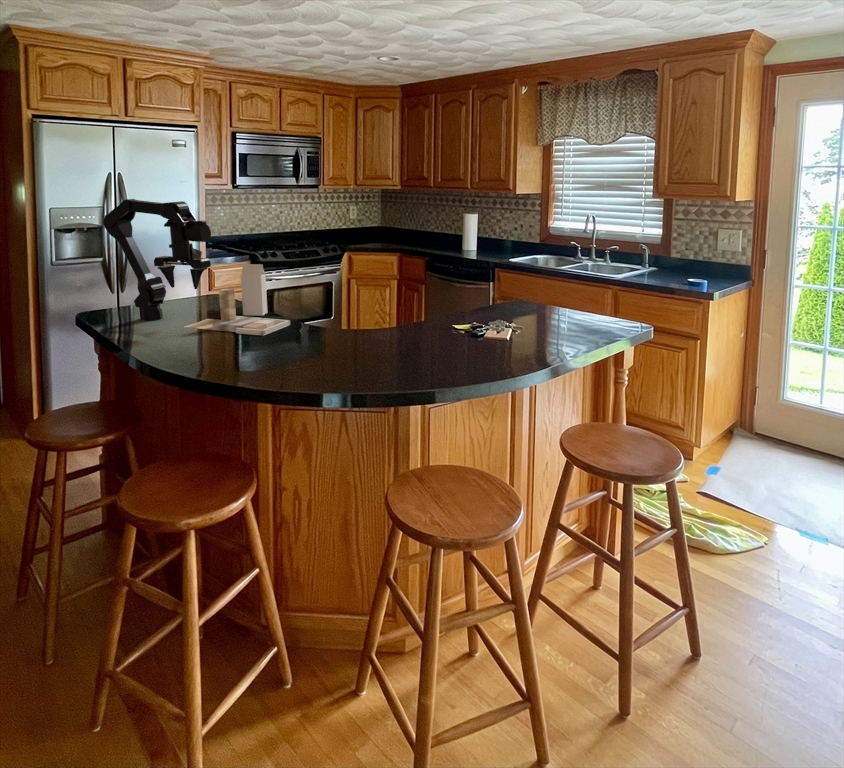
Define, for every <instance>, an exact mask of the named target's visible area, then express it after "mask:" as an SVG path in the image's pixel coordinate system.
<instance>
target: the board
mask: <svg viewBox="0 0 844 768" xmlns="http://www.w3.org/2000/svg"><path fill="white" fill-rule="evenodd" d="M218 321H221V319H213V318H206V319H203V320H200V321H197V322H194V323H191V324H188V325H187V324H186V325H185V326H183V328H188V329H200V330H209V331H216V330H215V329H213V323H215V322H218ZM220 331H221V332H223V331H224V332H227V331H226V330H219V332H220ZM230 332H231V333H232V332H233V333H234V332H235V333H236V331H230Z"/></svg>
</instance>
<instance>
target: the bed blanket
mask: <svg viewBox="0 0 844 768" xmlns="http://www.w3.org/2000/svg"><path fill="white" fill-rule="evenodd" d="M218 295H219V296H218V297H219V309H220V320H221V321H218V322H215V323H213V329H215V330H214V331H220V330H226V331H225V332H231V331H236V328H243V326H246V325H248V324H251V323H253V324H254V322H257V321H259V320H263V318H264V317H255V316H245V315H237V313H236V312H237V311H236V310H237V309H236V299H235V297H236V295H235V289H234V288H221V289H219V290H218Z"/></svg>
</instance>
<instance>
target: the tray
mask: <svg viewBox="0 0 844 768" xmlns="http://www.w3.org/2000/svg"><path fill="white" fill-rule="evenodd" d="M262 318H263V320H271V321H275V325H274V326H271V327H268V328H266V329H263V330H258V329H246V328H236V332H235V333H236V334H242V335H253V336H266V335H269V334H271V333H274V332H277V331H278V330H281V329H284V328H286V327H289V326H291V320H290V319H276V318H267V317H262Z"/></svg>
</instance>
